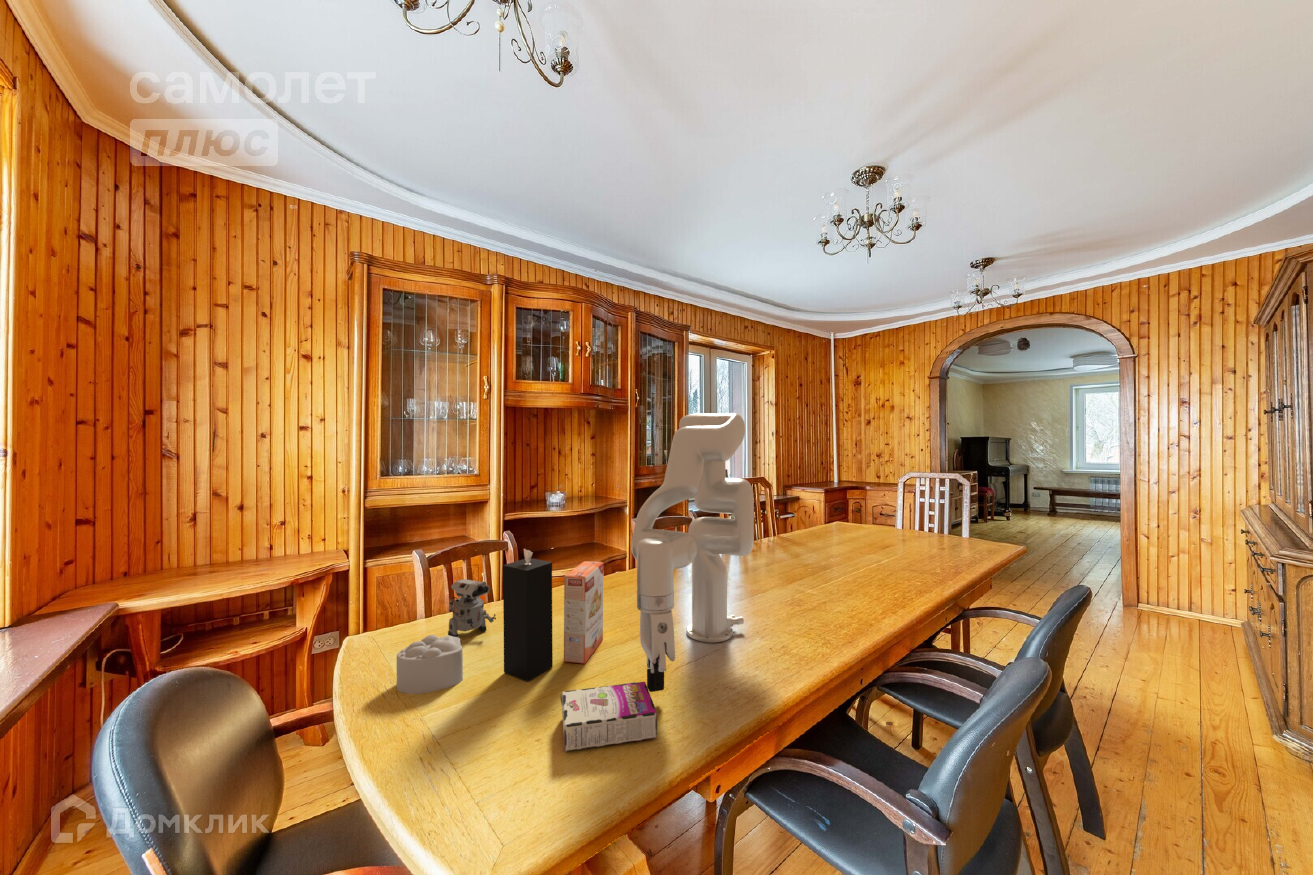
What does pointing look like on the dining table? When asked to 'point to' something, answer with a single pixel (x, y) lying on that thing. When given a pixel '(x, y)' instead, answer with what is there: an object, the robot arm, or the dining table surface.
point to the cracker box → (583, 611)
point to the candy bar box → (608, 716)
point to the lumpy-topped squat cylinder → (430, 665)
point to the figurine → (468, 607)
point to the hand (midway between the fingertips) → (655, 688)
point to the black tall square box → (527, 617)
